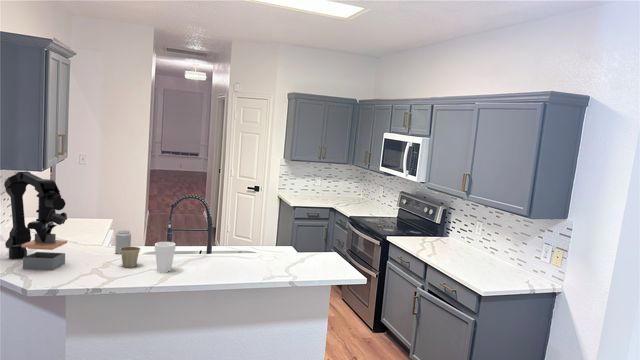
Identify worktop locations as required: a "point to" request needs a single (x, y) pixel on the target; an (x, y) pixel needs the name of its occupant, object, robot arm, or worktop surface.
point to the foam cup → (164, 255)
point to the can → (122, 240)
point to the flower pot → (129, 256)
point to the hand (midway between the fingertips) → (45, 241)
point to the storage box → (43, 261)
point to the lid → (48, 244)
